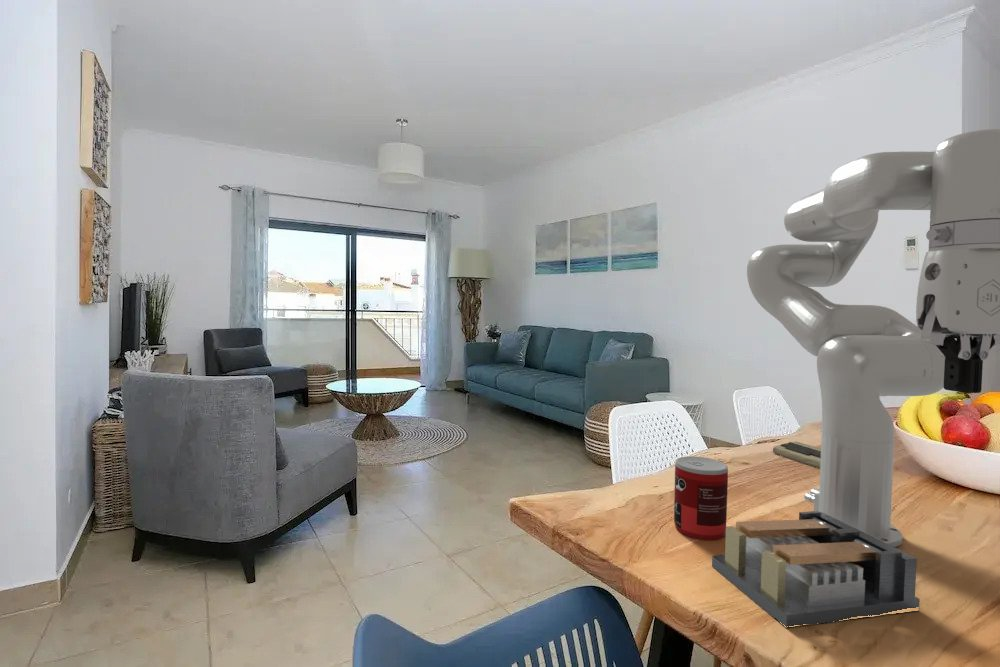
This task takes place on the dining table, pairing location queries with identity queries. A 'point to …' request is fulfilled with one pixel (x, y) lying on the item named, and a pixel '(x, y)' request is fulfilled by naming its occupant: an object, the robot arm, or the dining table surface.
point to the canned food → (700, 497)
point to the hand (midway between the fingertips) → (961, 391)
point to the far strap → (784, 528)
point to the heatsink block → (818, 577)
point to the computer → (800, 453)
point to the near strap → (826, 552)
